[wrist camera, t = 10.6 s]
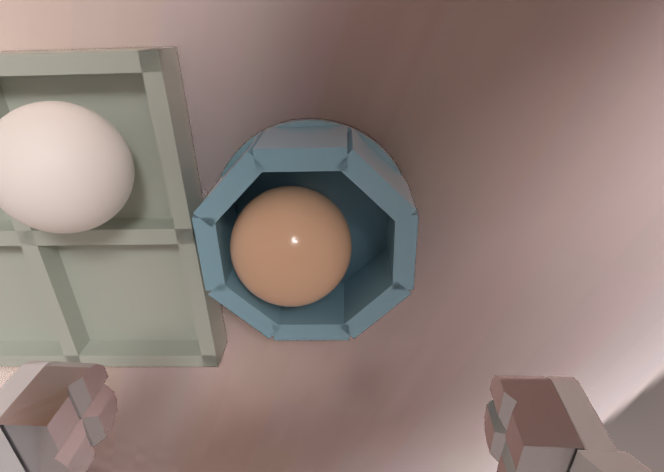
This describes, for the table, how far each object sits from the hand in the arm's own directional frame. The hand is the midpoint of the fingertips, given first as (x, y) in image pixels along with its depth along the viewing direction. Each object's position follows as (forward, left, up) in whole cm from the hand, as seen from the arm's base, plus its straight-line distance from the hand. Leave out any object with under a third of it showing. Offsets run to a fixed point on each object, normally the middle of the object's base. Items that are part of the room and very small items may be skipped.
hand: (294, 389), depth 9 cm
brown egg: (0, +1, -10) cm, 10 cm away
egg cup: (0, +1, -11) cm, 11 cm away
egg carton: (+16, +1, -11) cm, 19 cm away
